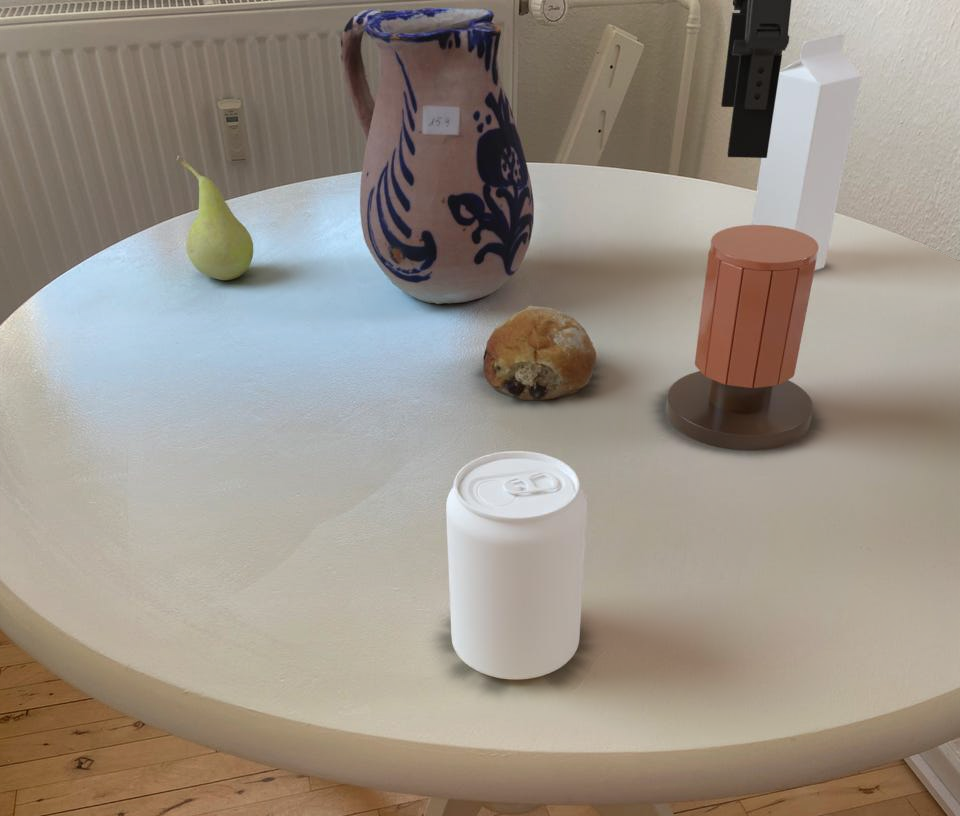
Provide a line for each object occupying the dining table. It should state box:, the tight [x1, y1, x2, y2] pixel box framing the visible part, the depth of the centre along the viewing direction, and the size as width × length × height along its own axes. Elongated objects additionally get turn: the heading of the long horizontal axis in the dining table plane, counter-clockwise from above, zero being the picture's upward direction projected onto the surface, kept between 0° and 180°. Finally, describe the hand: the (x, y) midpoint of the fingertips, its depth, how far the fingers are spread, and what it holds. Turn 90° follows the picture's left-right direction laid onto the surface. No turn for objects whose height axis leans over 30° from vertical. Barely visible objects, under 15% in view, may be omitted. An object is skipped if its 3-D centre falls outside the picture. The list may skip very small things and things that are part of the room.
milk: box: [751, 33, 863, 271], centre depth 108 cm, size 6×6×22 cm
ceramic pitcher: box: [340, 6, 535, 305], centre depth 104 cm, size 18×21×25 cm
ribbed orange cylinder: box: [694, 224, 819, 388], centre depth 84 cm, size 8×8×10 cm
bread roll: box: [483, 305, 597, 401], centre depth 94 cm, size 10×10×8 cm
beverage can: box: [445, 450, 588, 680], centre depth 64 cm, size 8×8×12 cm
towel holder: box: [665, 370, 814, 452], centre depth 85 cm, size 12×12×14 cm
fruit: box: [176, 155, 254, 281], centre depth 111 cm, size 7×8×12 cm
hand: (742, 130), depth 80 cm, fingers open, 13 cm apart
